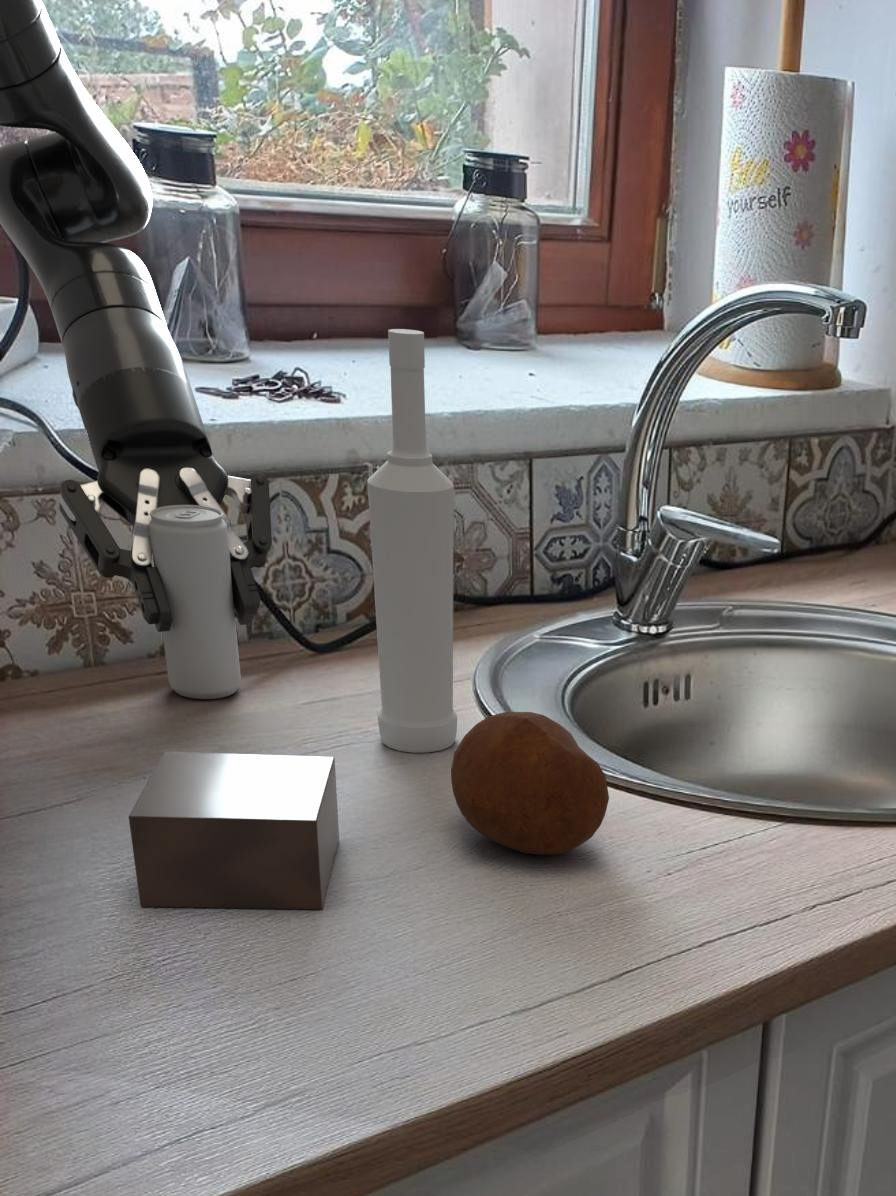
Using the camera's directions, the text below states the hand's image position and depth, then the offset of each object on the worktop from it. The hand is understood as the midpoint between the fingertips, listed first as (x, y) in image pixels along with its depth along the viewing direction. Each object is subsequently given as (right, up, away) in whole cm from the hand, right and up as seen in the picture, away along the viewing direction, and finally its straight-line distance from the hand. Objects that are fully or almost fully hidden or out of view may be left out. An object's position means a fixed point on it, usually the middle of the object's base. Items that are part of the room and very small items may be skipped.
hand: (207, 621), depth 102 cm
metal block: (+9, -19, -20) cm, 29 cm away
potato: (+23, -16, -13) cm, 31 cm away
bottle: (+14, -8, 0) cm, 16 cm away
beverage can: (-2, -4, +4) cm, 6 cm away
